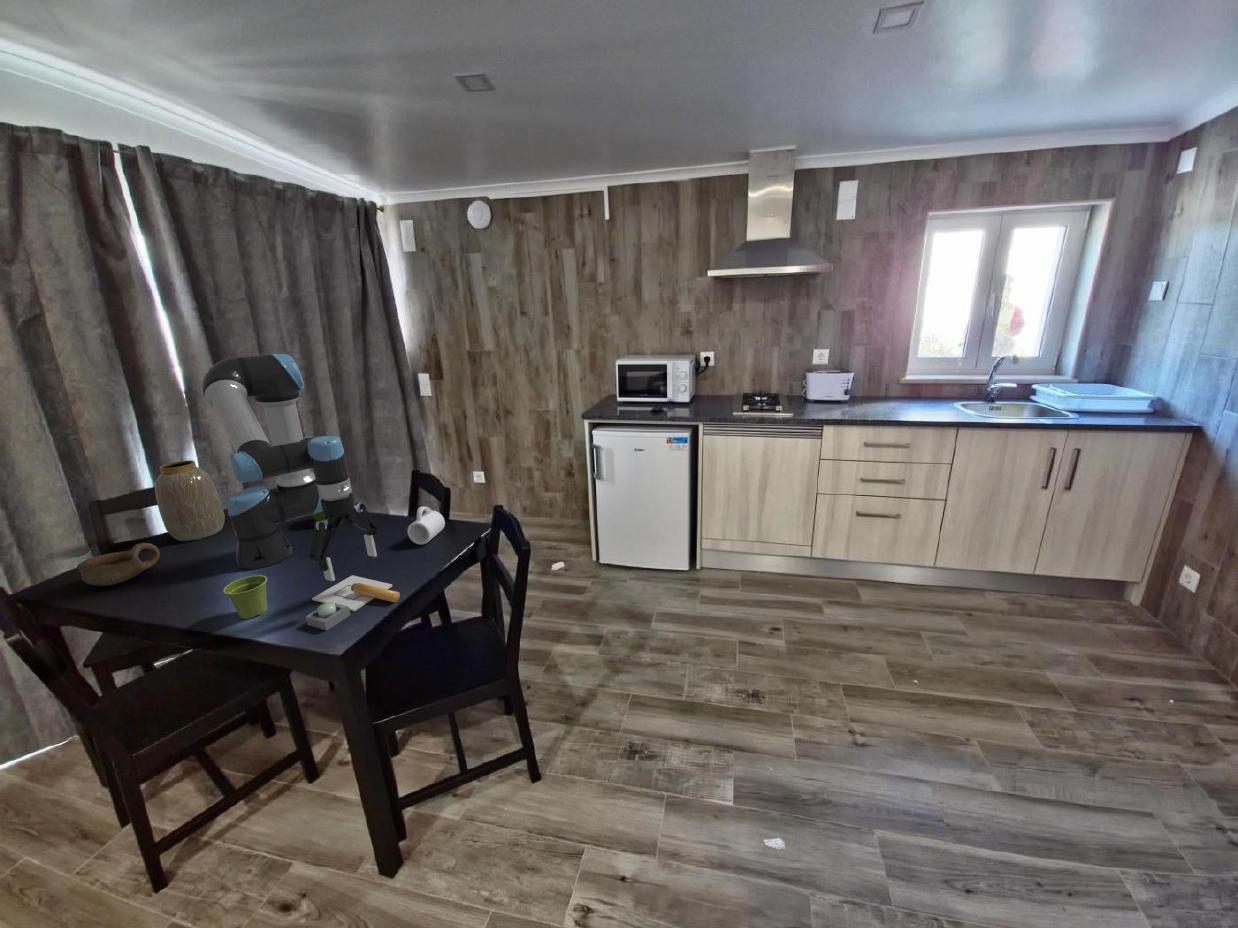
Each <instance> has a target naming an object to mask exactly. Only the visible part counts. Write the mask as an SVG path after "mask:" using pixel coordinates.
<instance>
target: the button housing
mask: <svg viewBox="0 0 1238 928" xmlns="http://www.w3.org/2000/svg"><path fill="white" fill-rule="evenodd" d="M335 607H336V611H337V612H336V613H334V614H333V615H331V616H329V617H328V618H326V619H323V618H320V617H319V615H318V611H317V609H316V610H313V611H312V612H311V613H310V612H309V614H307V615H305V622H306V625H307V626H309V627H313V628H316V629H320V630H324V631H329V630H330V629H332V628H333V627H335V626H336V625H337V624H339V623H341V622H343V621H344V620H345V619H346V618H349V617H350V616H351V615H352V614H351V610H349V607H348V606H344V605H340V604H337V603H335Z"/></svg>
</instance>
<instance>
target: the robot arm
mask: <svg viewBox="0 0 1238 928" xmlns="http://www.w3.org/2000/svg"><path fill="white" fill-rule="evenodd" d="M201 386H202V387H201V389H202V393H203V397H204V399H205V400H206V402H207V403H208V404H209V405H210V406H211V407H214V409H215V412H216V414H217V416H218V418H219V419H220V423H221V424H222V426H223V428H224V431H225V433H226V435H227V437H228V440H229V441H230V443H231V446H232V448H233V450H234V452H235V453H233V454H231V455H230V456H229V462H230V465H231V470H232V472H233V474H234V478H235V479H236V481H237V482H239V483H242V484H243V483H250V482H251V483H252V482H255V481H256V482H257V481H262V480H265V479H270V478H273V477H278V476H279V477H278V478H277V479H276V480H275V485H276V487H273V488H270V487H269V486H267V485H256V486H252V487H249V488H245V489H242V490H240V491H238V492H236V493H234V494H232V495H230V497H228V499H227V501H226V508H227V516H229V518H230V522H231V525H232V528H233V531H234V534H235V538H236V541H237V544H236V552H235V553H236V554H235V562H236V565H237V567H238V569H243V570H255V569H262V568H265V567H268V566H273V565H275V564H278V563H280V562H281V561H284V560H285V559H287V558H289V557H290V556H291V555H292V554H293V547H292V545H291V543H290V541H289V540H288V538H287V537H286V536H285V535H284V534H283V532H282V531H281V527H280V524H282V523H283V524H284V523H286V522H290V521H294V520H297V519H300V518H304V517H308V516H313V514H315V513H318V512H321V511H323V512H324V514H325V520H323V521H320V522H319V521H314V522H313V530H314V532H313V535H312V541H311V546H310V550H309V555H308V560H310V561H314V562H318V566H319V569H320V571H322V572H323V575H324V578H325V580H326V581H330V582H334V581H335V580H336V578H335V577H336V576H335V574H334V568H333V565H332V561H331V557H328V556H329V554H330V552H331V551H330V550H331V549H332V546H333V545H334V544H333V543H334V541H335V539H336V537H337V536H338V535H339V534H340V531H343V530H345V529H346V528H350V527H352V526H354V527H356V528H358V529H359V530H361V531H362V532H364V533H365V534H363V538H364V543H365V548H366V553H367V556H369V557H372V558H373V557H374V558H376V557H377V556H378V553H377V550H376V549H377V548H376V543H377V539H376V535H377V534H378V530H380V529H381V526H380V525H379V523H378V522H377V521H376V520H375V518H374V517H373V516H372V515H371V513H370V512H369V511H368V510H367V509H368V508H367V507H366V504H365V503H362V502H361V503H360V502H356V503H355V499H354V495H353V493H352V491H353V490H352V486H351V481H350V476H349V472H348V465H347V462H346V456H345V449H344V447H343V443H342V440H341V438H340V437H339V436H336V435H323V436H313V435H312V436H305V437H304V435H303V431H302V427H301V422H300V417H299V414H298V408H297V404H296V402H298V400H299V399H300V392H302V391H303V390H304V389H305V384H304V379H303V377H302V374H301V371H300V369H299V366H298V365H297V363H296V361H295V360H294V358H293V357H292V356H291V355H289V354H286V353H267V354H260V355H258V354H257V355H250V356H249V355H248V356H247V355H246V356H238V357H234V356H233V357H228V358H225V359H222V360H220V361H218V362H216V363H215V364H213V365H212V366H211V367H210V368H209V369H208V371H207V372H206V373H205V376H204V377H203V380H202V385H201ZM249 397H250V398H251V397H254V400H255V402H256V403H257V404H259V405H260V406H262V408H263V412H264V416H265V420H266V424H267V428H268V432H269V437H270V440H271V441H269V439H268V437H267V436H266V433H265V431H264V430H263V428H262V426H261V424H260V422H259V420H258V418H257V416H256V415H255V413H254V410H253V408H252V407H251V404H250V403H249V401H248V398H249ZM270 442H271V443H272V445H271V443H270ZM311 469H312V471H313V472H312V471H311ZM357 514H358V515H359V516H360V517H361V518H362V519H363V520H364V521H363V522H362V521H361V520H360V519H359V518H357V517H356V515H357ZM364 522H365V523H364Z"/></svg>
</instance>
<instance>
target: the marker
mask: <svg viewBox="0 0 1238 928" xmlns="http://www.w3.org/2000/svg"><path fill="white" fill-rule="evenodd" d="M351 591H353V592H354V593H357V594H361V595H365V596H370V597H374V599H379V600H382V601H388V602H391V603H397V602H398V601H399V599H400V596H401V595H400V592H399V591H395V590H391V589H388V590H387V589H383V588H379V587H374V586H370V585H366V584H361V583H357V584H356V583H354V584H353V585H352V586H351Z"/></svg>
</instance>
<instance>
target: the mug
mask: <svg viewBox="0 0 1238 928" xmlns="http://www.w3.org/2000/svg"><path fill="white" fill-rule="evenodd" d="M424 511H425V513H423V512H424ZM445 521H446V520H445V517H444V516H443V515H442V514H441V513H440V512H438V511H436V510H432V509H431V508H430V507H427V506H420V507H419V508H418V509H417V511H416V520H414V521H413V522H412V523H410V524H409V525H408V527H407V536H408V538H409V540H411V541H412V542H413V543H414V544H416V545H421V546H422V545H425V544H428V542H430V541H431V540H432V539H433V538H434V537H436V536H437V535H438V534H439V533H440V532H442V531H443V530H444V528H445V525H446V522H445Z"/></svg>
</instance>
